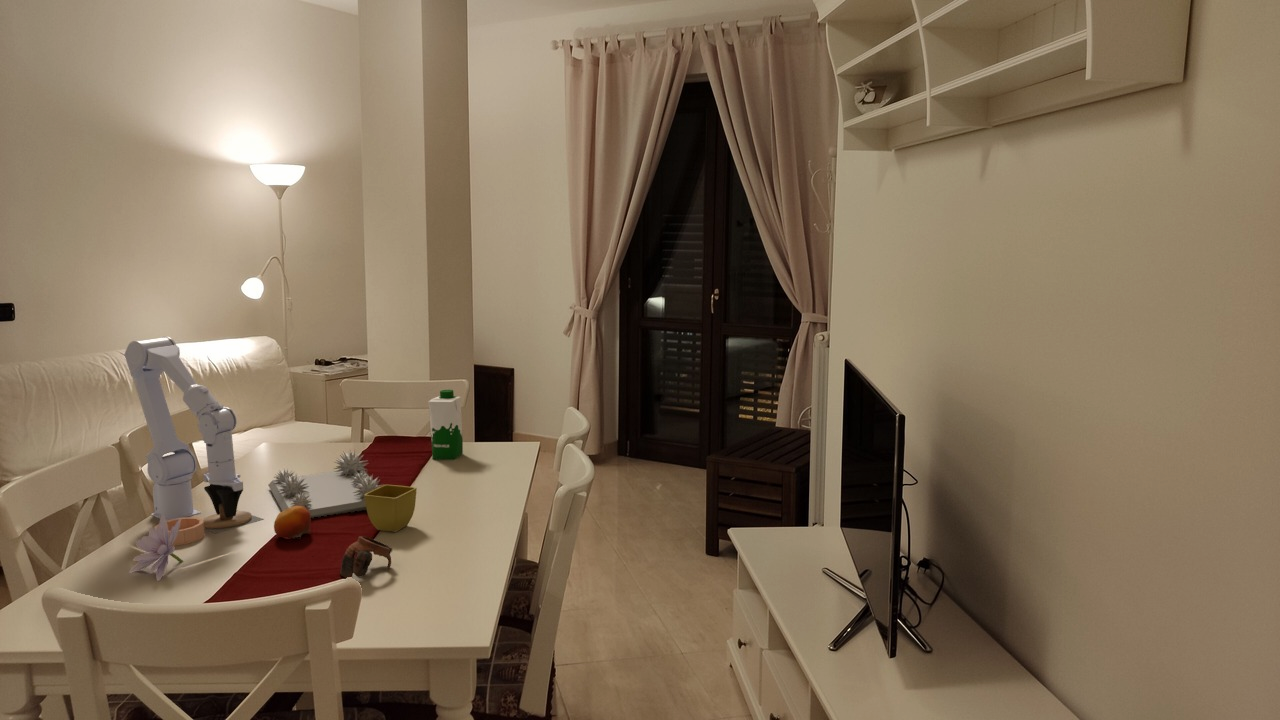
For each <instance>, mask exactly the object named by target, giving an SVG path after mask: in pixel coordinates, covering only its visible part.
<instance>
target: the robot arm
mask: <svg viewBox="0 0 1280 720" xmlns="http://www.w3.org/2000/svg"><path fill="white" fill-rule="evenodd" d="M180 353H181V352H180V347H179V346H178V345H177V343H176V342H175V340H174V339H173V338H171V337H170V336H162V337H158V338H150V339H145V340H144V339H143V340H142V339H141V340H132V341H130V342H129V343H128V345H127V346H126V350H125V352H124V357H125V360H126V365H127V367H128V370H129V373H130V375H131V377H132V380H133V383H134V386H135V389H136V394H137V397H138V400H139V402H140V405H141V409H142V412H143V415H144V418H145V421H146V425H147V428H148V431H149V434H150V437H151V440H152V443H153V447H151V449H150V450H149V452H148V453H147V454H146V455H145V458H146V462H147V463H146V464H147V474H148V476H149V479H150V480H151V481H152V482H153V483H154V484H153V487H152V498H153V506H154V507H153V508H154V512H153V513H151V514H150V516H152V517H154V516H155V517H154V518H157V519H160V518H161V516H162V515H164V517H165V519H166V521H169V520H173V519H178V518H186V517H193V516H197V515H200V514H201V513H202V511H200V510H196V509H194V500H193V491H192V482H191V481H192V480H191V479H192V478H194V474H195V472H196V471H197V469H198V460H197V458H196V456H195V454H194V453H193V452H192V451H191V448H190V444H188V443H187V442H184V441H183V440H180V439H179V438H178V436H177V432H176V430H175V426H174V422H173V419H172V417H171V412H170V411H169V410H170V409H169V405H168V403H167V400H166V397H165V394H164V390H163V387H162V385H161V381H160V378H161V375H162V374H163V373H165V374H166V375H167V377H169V379H170V380H171V381H172V382H173V383H174V384H175V385H176V386H177V387H178V388H179V389H180V391H182V392H183V396H182V400H183V402H184V403H185V404H186V406H187V407H188V409H189V410H190V411H191V412H192V414H193V415H194V417H196V418H197V420H198V423H197V427H198V428H197V429H198V430H199V432H200V433H201V435H202V436H201V437H202V441H203V443H204V444H205V447H206V459H207V469H208V472H207V473H203V476H202V477H203V482H204V483H208V484H209V485H207V486H204V487H203V489H204V491H205V492H206V493H207V495H208V497H209V498H210V501H211V503H212V505H213V508H214V511H215V514H217V515H219V514H220V513H219V504H221V503H222V504H223V509H224V513H225V516H226V518H229V517H233V516H236V511H238V506H239V500H240V497H241V495H242V493H243V491H244V481H242V480H240V478H241V474H240V473H237V472H236V465H235V464H236V463H235V454H234V453H235V451H234V443H233V432H232V431H233V430H235V429H236V426H237V417H236V415H235V413H234V412H233V409H232V408H231V407H230V408H229V407H227V406H225V405H223V404H220V403H219V402H218V401H217V399H216V398H215V397H214V395H213V393H211V391H210V390H209V388H208V387H206V386H205V385H202V384H197V382H196V379H194V377H193V376H192V374H191V373H190V372H189V370H188V368H187V366H186V365H185V364H184V362H183V361H182V359H181V358H180ZM171 453H172V454H171ZM168 454H169V455H168Z"/></svg>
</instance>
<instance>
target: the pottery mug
mask: <svg viewBox="0 0 1280 720" xmlns="http://www.w3.org/2000/svg"><path fill="white" fill-rule="evenodd" d="M392 551H393V548H392V547H391V546H389V545H387V544H385V543H384V542H380V541H379V540H375V539H373V538H369V537H367V536H362V535H360V536H358V539H357V541H355V542H353V543H351V544H350V545H349V546H348V547H347V548H346V551H345V553H344V554H343V557H342V561H341V566H340V573H339V574H340V575H341V576H342V577H343V578H345V579H347V577H352V578H353V574H354V575H355V576H356V577H357V578H358V577H359V578H362V577H365V576H366V575H367V573H368V569H369V566H370V565H371V562H372V561H373V555H375V556H376V555H377V556H379V557H383V558H385V559H387V560H388V561H387V566H386V569H387V570H388V571H389V570H390V569H391V566H392V556H391V553H392ZM355 554H356V555H355ZM355 556H356V557H355Z"/></svg>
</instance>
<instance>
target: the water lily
mask: <svg viewBox="0 0 1280 720" xmlns="http://www.w3.org/2000/svg"><path fill="white" fill-rule="evenodd" d="M180 523H181V519H180V520H179V521H178V522H177V523H176V524H175V526H173V527H172V529H171V531H170V537H169V532H168V525H167V522H166V519H165V517H164V515H162V516H161V518H159V522H158V524H159V526H158V528H157V530H156V529H154V528H150V529H149V532H148V535H146V536H145V535H144V536H142V537H141V539H138V540H136V541H135V545H136V546H137V548H138V549H140V550H141V551H143V552H146V553H143V554H140V555H139V554H138V556H135V557H134V558H133V559H132V561H133V562H137V564H135V565H134V566H133V567H132V568H131V569H130V570H129V571H128V574H131V573H135V572H139V571H141V570H143V569H145V568H147V567H150V566H151V565H152V566H151V567H150V570H149V574H152V573H154V572H155V571H156V573H155V574H156V575H155V577H156V580H157V581H161V579H162V578H163V576H164V574H165V572H166V570H167V567H168V563H169V556H171V557H172V558H174V559H175V560H176V561H177V562H179V563H183V562H184V560H183V559H182V558H180V557H179V556H178V555H176V554H175V553H174V552H175V546H171V545H172V544H173V542H174V540H175V538H176V536H177V534H178V531H179V528H180ZM168 541H169V542H168Z"/></svg>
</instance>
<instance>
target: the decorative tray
mask: <svg viewBox="0 0 1280 720" xmlns="http://www.w3.org/2000/svg"><path fill="white" fill-rule="evenodd" d="M339 455H340V457H341V458H338V457H336V459H337V460H336V459H335V461H334V463H335V464H337V466H335V467H334V468H333V470H332V471H326V472H318V473H313V474H312V473H311V474H305V475H298V473H295V475H294V472H293V470H291V471H289V468H287V469H285V468H283V470H279V471H278V472H277V474H276V473H275V474H274V475H273V478H274V479H272V481H270V483H268V487H269V489H270V491H271V493H272V495H273V496H274V499H275V500H276V502H277V504H278V506H279V508H280V509H281V512H282V511H284V510H286V509H288V508H290V507H293V506H303V507H305V508H306V509H307V510H308V511H309V512H310V516H311V518H312V519H315V518H314V517H318V518H322V517H321V516H324V517H328V516H327V515H330V516H334V514H336V515H339V514H341V513H342V514H346V513H348V512H351V513H356V512H355V511H357V512H362V510H363V511H367V508H366V503H365V498H364V495H365V494H366V493H368V492H371V491H373V490H375V489H377V488H379V487H381V486H383V484H380V485H379V482H380V481H381V479H378V478H379V477H376V478H375V479H373V476H372V475H369V473H367V471H368V469H367V468H365V467H366V466H367V465H368V464H370V462H368V459H366V460H361V459H362V458H363V457H364V454H362V452H359V453H357V455H356V449H354V450H353V451H351V449H349V454H348V452H347V451H346V453H345V451H344V450H342V453H341V454H339ZM337 469H338V470H337ZM275 475H276V476H275Z"/></svg>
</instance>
